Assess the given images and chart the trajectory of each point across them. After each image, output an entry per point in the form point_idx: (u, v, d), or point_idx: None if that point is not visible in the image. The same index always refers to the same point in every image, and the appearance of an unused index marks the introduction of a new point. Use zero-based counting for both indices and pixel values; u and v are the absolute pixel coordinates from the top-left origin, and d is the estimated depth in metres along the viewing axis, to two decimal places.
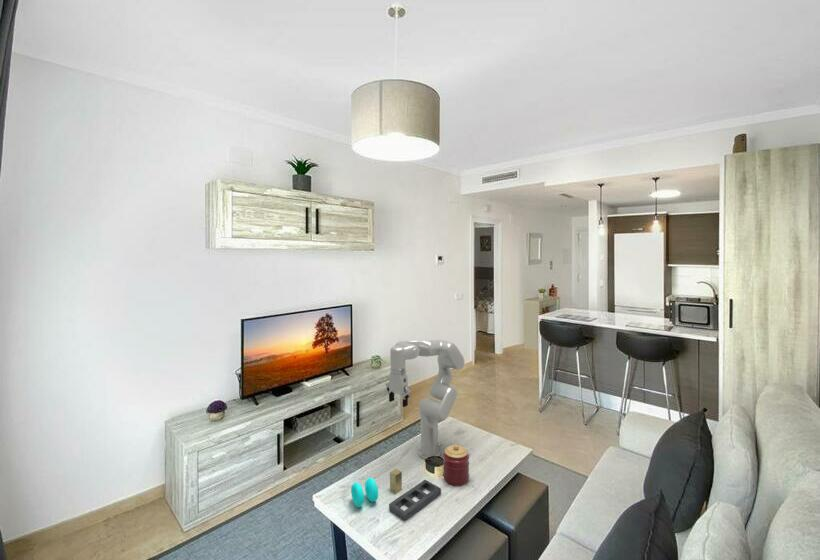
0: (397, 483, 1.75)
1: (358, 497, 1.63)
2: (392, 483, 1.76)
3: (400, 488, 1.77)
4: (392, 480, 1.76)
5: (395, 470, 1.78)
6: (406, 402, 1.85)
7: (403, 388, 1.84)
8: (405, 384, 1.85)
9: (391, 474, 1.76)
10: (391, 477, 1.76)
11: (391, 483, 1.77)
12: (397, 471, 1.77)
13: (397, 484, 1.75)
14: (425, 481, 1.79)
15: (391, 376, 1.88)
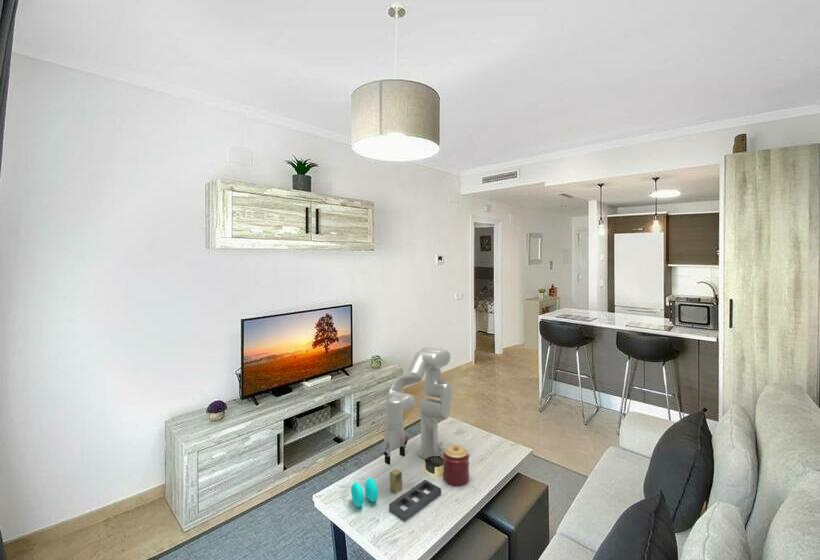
0: (397, 483, 1.75)
1: (358, 497, 1.63)
2: (392, 483, 1.76)
3: (400, 488, 1.77)
4: (392, 480, 1.76)
5: (395, 470, 1.78)
6: None
7: None
8: None
9: (391, 474, 1.76)
10: (391, 477, 1.76)
11: (391, 483, 1.77)
12: (397, 471, 1.77)
13: (397, 484, 1.75)
14: (425, 481, 1.79)
15: (394, 433, 1.72)
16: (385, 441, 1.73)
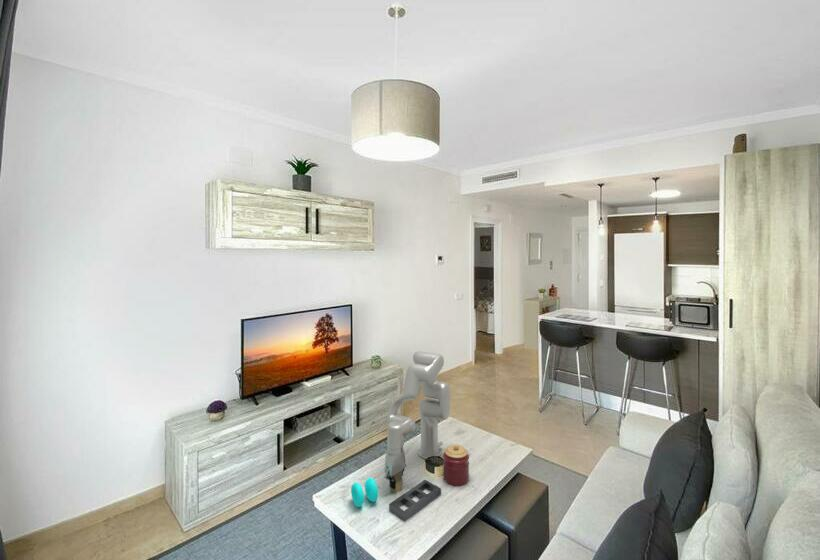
0: (397, 483, 1.75)
1: (358, 497, 1.63)
2: None
3: (400, 488, 1.77)
4: None
5: None
6: None
7: None
8: None
9: None
10: (391, 477, 1.76)
11: None
12: None
13: (397, 484, 1.75)
14: (425, 481, 1.79)
15: (395, 458, 1.73)
16: (386, 466, 1.74)
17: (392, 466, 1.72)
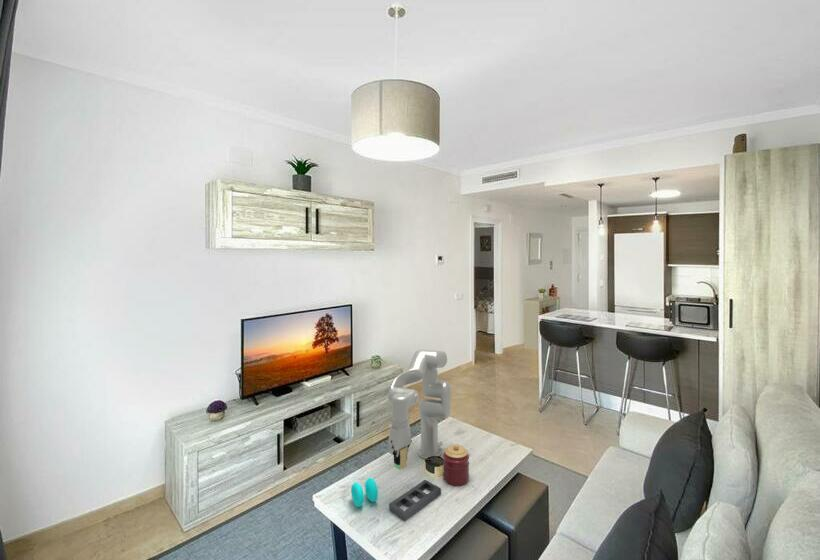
0: (402, 459, 1.64)
1: (358, 497, 1.63)
2: None
3: (405, 464, 1.66)
4: None
5: None
6: None
7: None
8: None
9: None
10: None
11: None
12: None
13: (402, 460, 1.64)
14: (425, 481, 1.79)
15: (400, 432, 1.62)
16: (390, 440, 1.63)
17: (396, 440, 1.61)
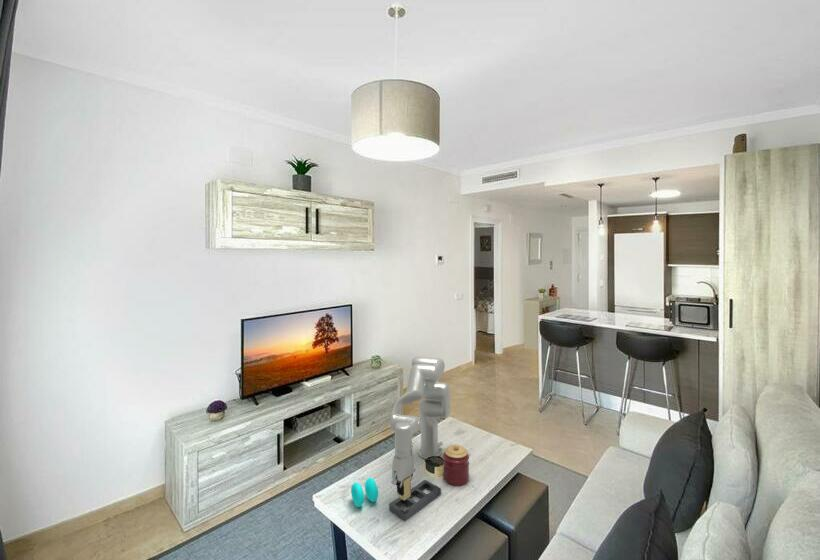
0: (405, 489, 1.60)
1: (358, 497, 1.63)
2: None
3: (409, 494, 1.62)
4: None
5: None
6: None
7: None
8: None
9: None
10: (399, 482, 1.61)
11: None
12: None
13: (405, 490, 1.60)
14: (425, 481, 1.79)
15: (403, 462, 1.58)
16: (393, 470, 1.59)
17: (400, 470, 1.57)
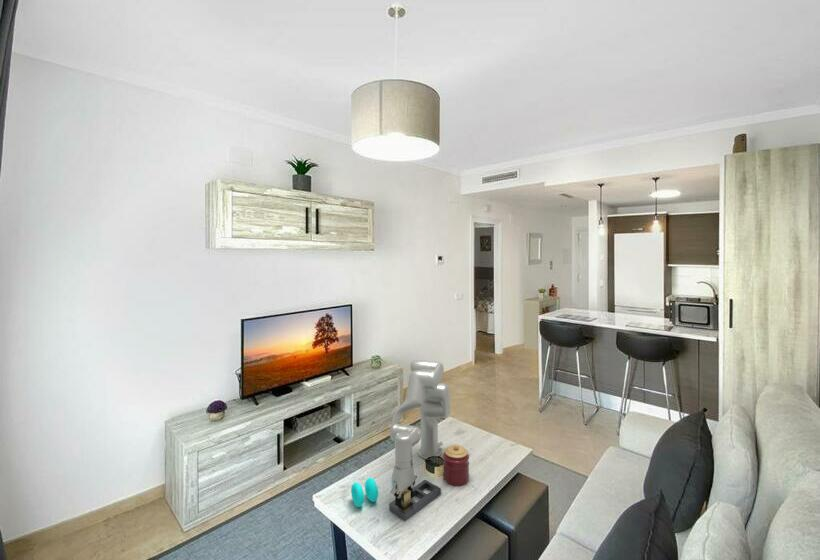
0: (405, 503, 1.61)
1: (358, 497, 1.63)
2: None
3: None
4: None
5: None
6: None
7: None
8: None
9: None
10: None
11: None
12: (405, 490, 1.63)
13: (405, 505, 1.61)
14: (425, 481, 1.79)
15: (403, 472, 1.58)
16: (393, 480, 1.59)
17: (400, 481, 1.58)
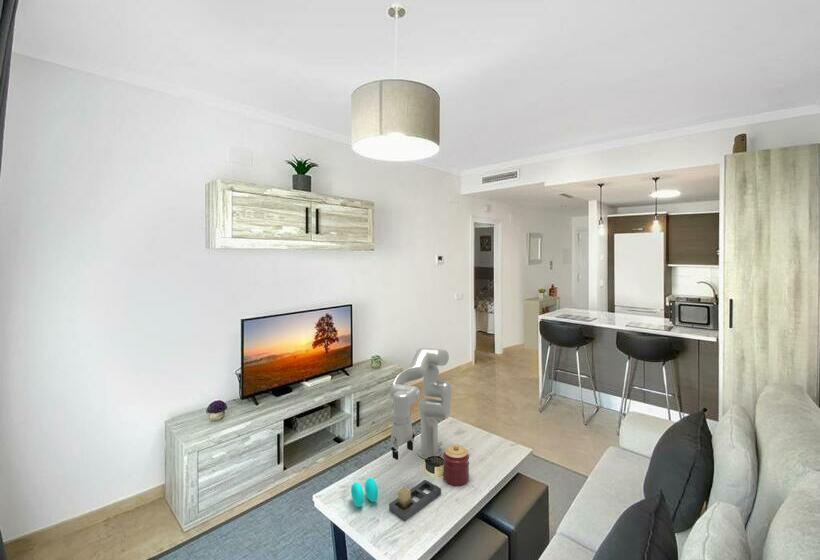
0: (405, 504, 1.61)
1: (358, 497, 1.63)
2: (400, 503, 1.62)
3: None
4: (400, 500, 1.62)
5: (403, 489, 1.64)
6: None
7: None
8: None
9: (399, 494, 1.62)
10: (399, 497, 1.62)
11: (399, 503, 1.62)
12: (405, 490, 1.63)
13: (405, 505, 1.61)
14: (425, 481, 1.79)
15: (402, 428, 1.66)
16: (392, 436, 1.67)
17: (399, 436, 1.65)
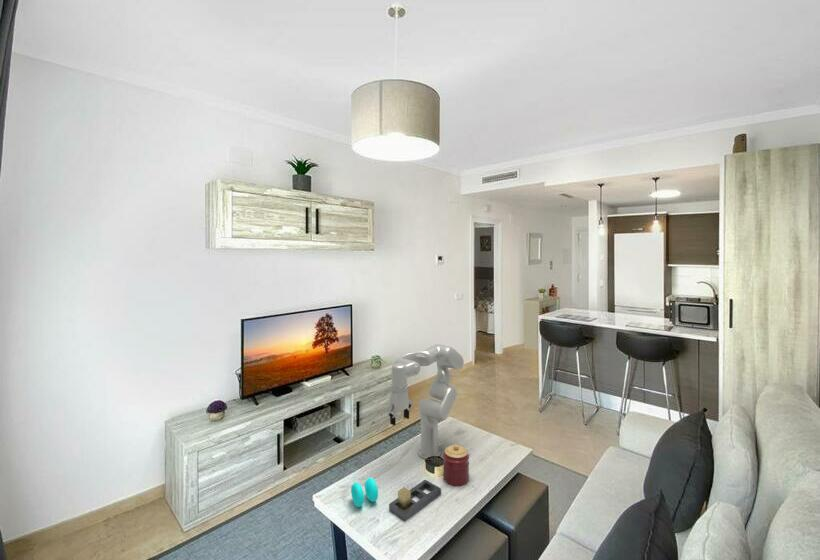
0: (405, 503, 1.61)
1: (358, 497, 1.63)
2: (400, 503, 1.62)
3: None
4: (400, 500, 1.62)
5: (403, 489, 1.64)
6: None
7: None
8: None
9: (399, 493, 1.62)
10: (399, 497, 1.62)
11: (399, 503, 1.62)
12: (405, 490, 1.63)
13: (405, 505, 1.61)
14: (425, 481, 1.79)
15: (399, 396, 1.83)
16: (390, 403, 1.84)
17: (396, 403, 1.82)
